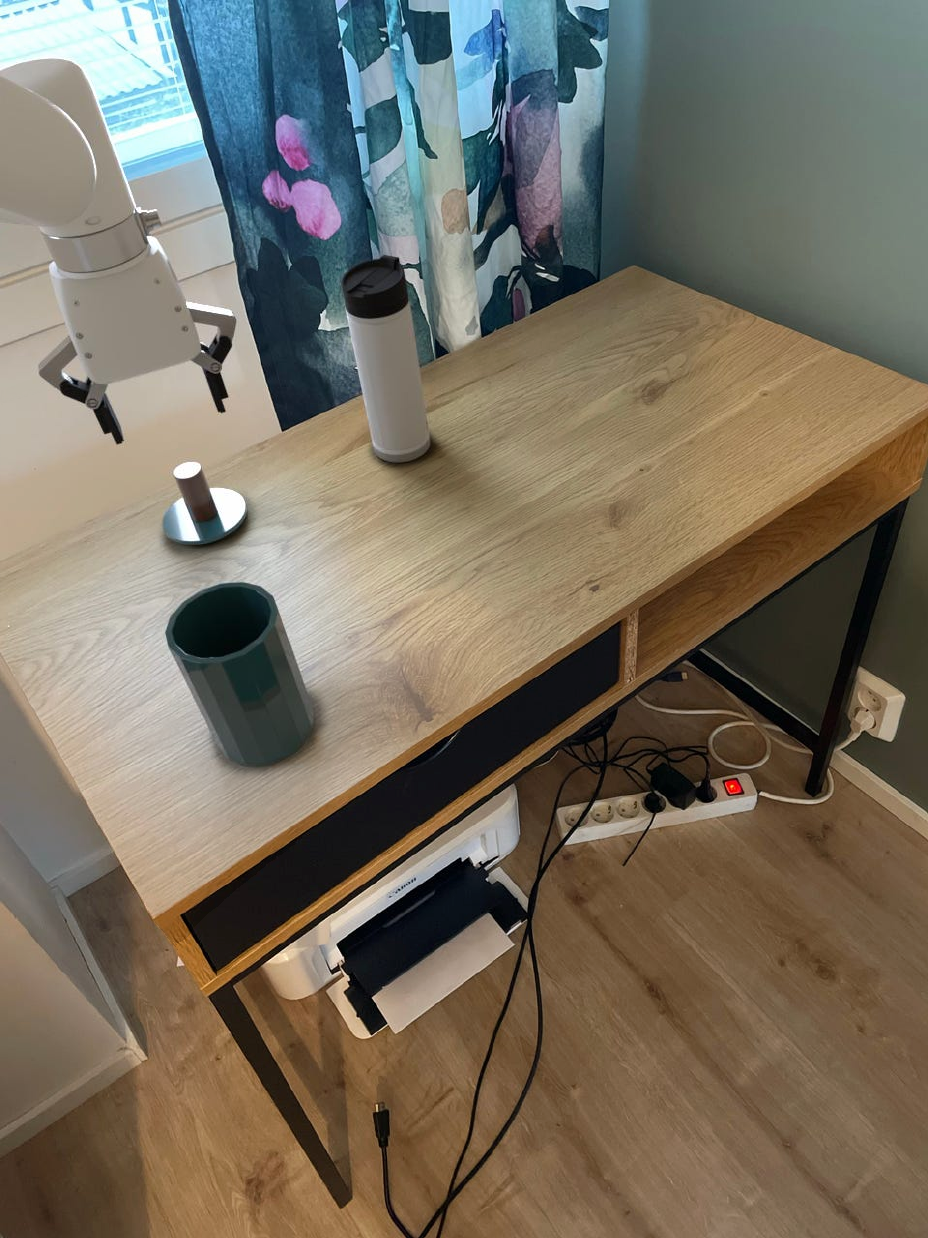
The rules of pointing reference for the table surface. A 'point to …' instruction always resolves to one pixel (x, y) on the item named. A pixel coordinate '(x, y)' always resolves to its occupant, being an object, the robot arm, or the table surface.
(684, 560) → the table surface
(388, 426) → the travel mug
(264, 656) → the pot
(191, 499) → the lid
